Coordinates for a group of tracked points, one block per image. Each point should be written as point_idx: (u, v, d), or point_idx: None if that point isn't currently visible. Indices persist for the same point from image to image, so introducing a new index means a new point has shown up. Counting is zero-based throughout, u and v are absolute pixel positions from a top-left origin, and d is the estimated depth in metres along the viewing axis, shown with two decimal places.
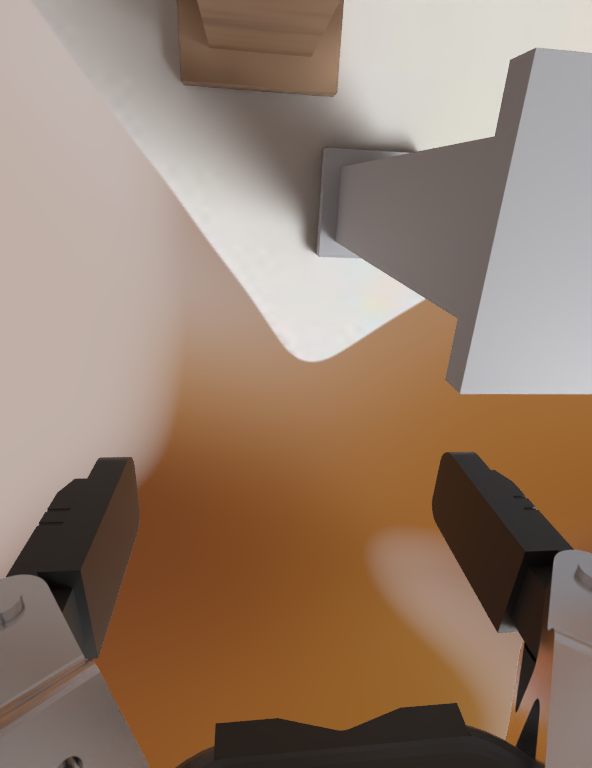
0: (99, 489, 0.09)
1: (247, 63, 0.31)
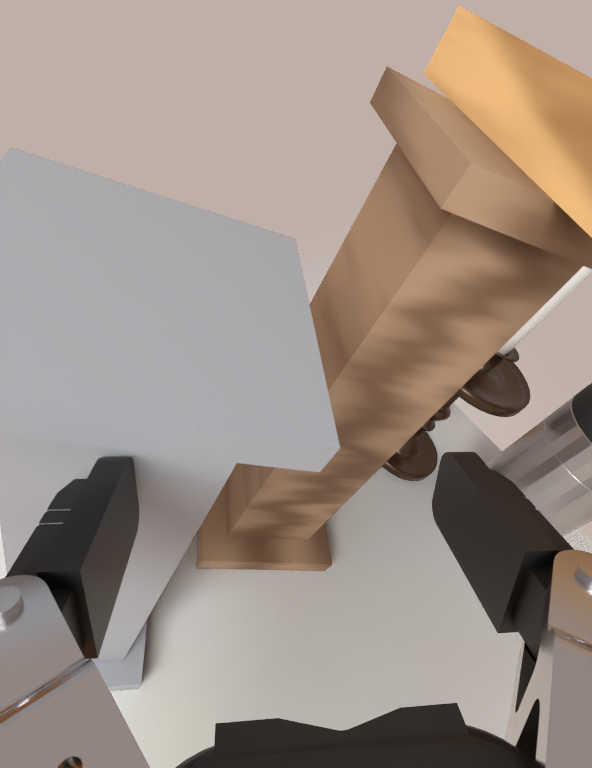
0: (99, 489, 0.09)
1: None
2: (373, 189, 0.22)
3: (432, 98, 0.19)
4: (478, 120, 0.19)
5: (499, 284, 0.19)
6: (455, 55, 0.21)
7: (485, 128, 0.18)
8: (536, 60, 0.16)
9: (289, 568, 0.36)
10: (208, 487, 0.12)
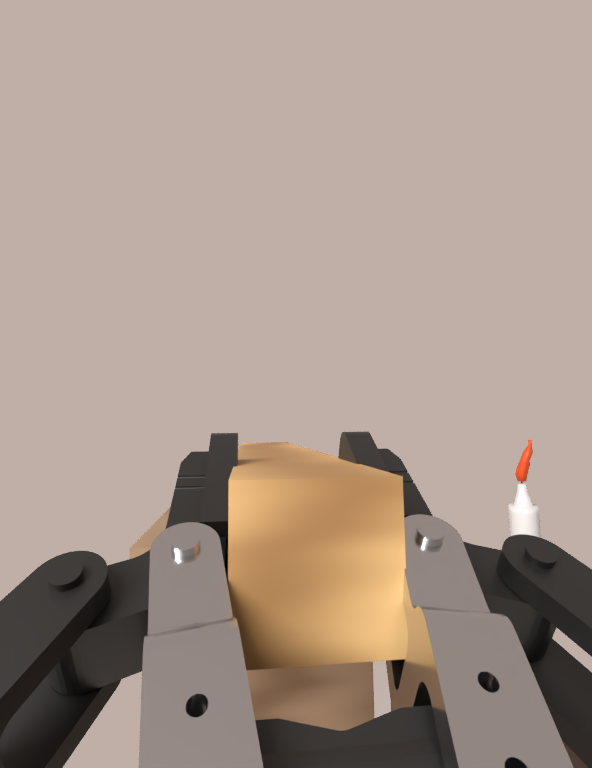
0: (223, 458, 0.10)
1: None
2: None
3: None
4: None
5: None
6: None
7: None
8: None
9: None
10: None
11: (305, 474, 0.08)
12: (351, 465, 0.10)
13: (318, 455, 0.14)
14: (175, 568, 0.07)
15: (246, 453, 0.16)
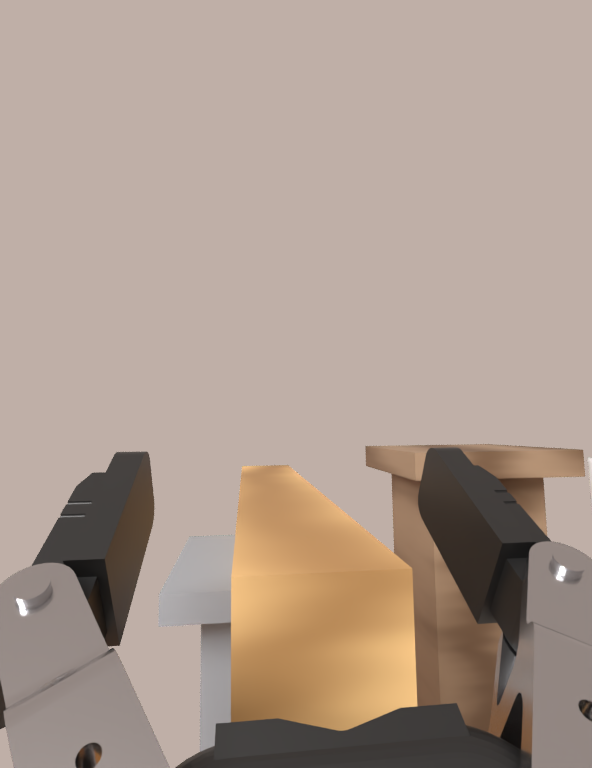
0: (118, 482, 0.09)
1: None
2: (393, 508, 0.32)
3: None
4: None
5: None
6: None
7: None
8: None
9: None
10: None
11: (310, 560, 0.08)
12: (357, 534, 0.10)
13: (321, 503, 0.14)
14: (10, 621, 0.06)
15: (248, 496, 0.16)
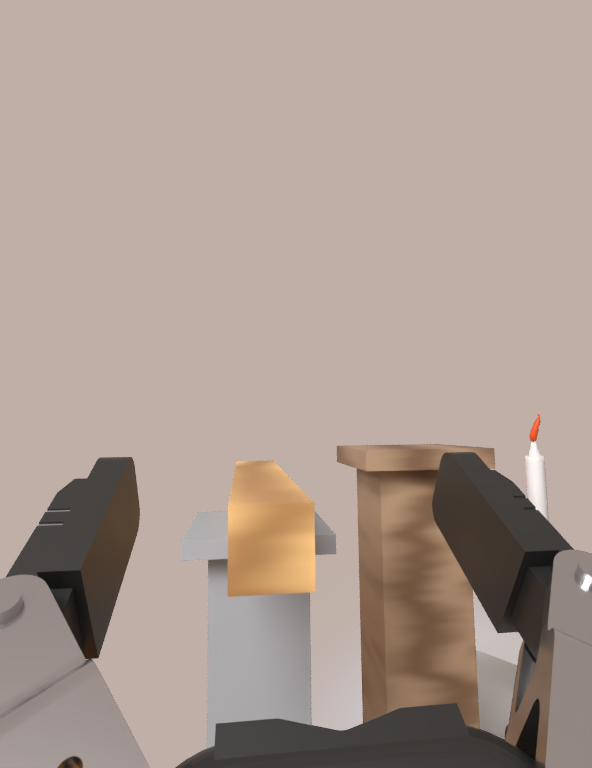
0: (99, 489, 0.09)
1: None
2: (357, 495, 0.40)
3: (359, 446, 0.40)
4: None
5: None
6: None
7: None
8: None
9: None
10: (302, 611, 0.24)
11: (267, 501, 0.16)
12: (296, 493, 0.18)
13: (285, 481, 0.22)
14: None
15: (239, 478, 0.24)
